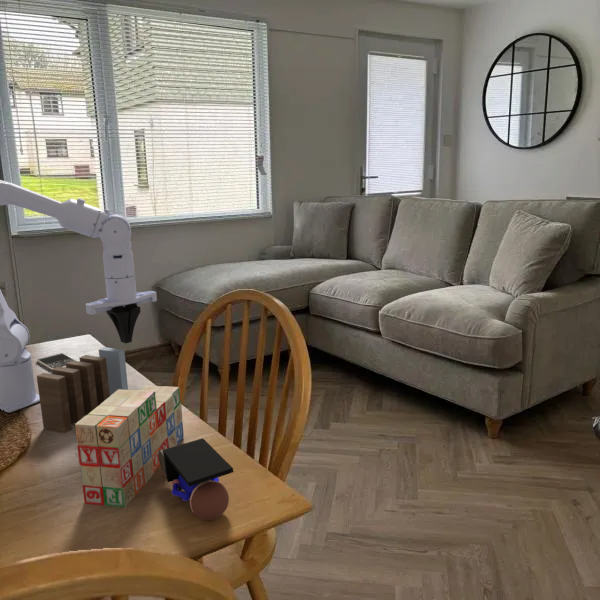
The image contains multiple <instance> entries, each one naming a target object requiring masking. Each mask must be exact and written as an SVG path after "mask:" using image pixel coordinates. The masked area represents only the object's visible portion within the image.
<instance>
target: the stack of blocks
mask: <svg viewBox="0 0 600 600" xmlns="http://www.w3.org/2000/svg"><path fill="white" fill-rule="evenodd" d="M180 395H181V392H180V387H179V386H168V385H166V386H165V385H164V386H163V385H161V386H159V385H144V386H142V388H140V390H139V389H137V390H135V389H128V390H121V389H118V390H117V391H116V392H114V393H113V394H112V395H111V396H110V397H109V398H107V399H106V400H105V401H104V402H102V403H101V404H100V405H99V406H98V407H96V408H95V409H94V410H93V411H91V412H90V413H89V414H88V415H86V416H85V417H83V418H82V419H81V420H80V421H78V422H77V423H76V424H74V425H75V426H74V427H75V428H74V429H75V436H76V442H77V445H76V446H77V455H78V463H79V469H80V475H81V483H82V492H83V493H82V494H83V500H84V504H85V505H86V504H88V505H95V506H96V505H97V506H98V505H99V506H109V507H119V508H126V507H127V505H129V503H130V502H131V501H132V499H134V498H135V496H137V494H138V493H139V492H140V491H141V490H142V489H143V487H144V486H145V485H146V484H147V482H148V481H150V479H151V478H152V476H153V475H155V472H156V470H158V469H159V467H161V466H160V462H159V457H158V452H159V451H160V450H163V449H167V448H171V447H175V446H178V445H179V443H180V442H181V440H183V438H184V426H183V425H184V423H183V411H182V410H183V409H182V404H181V396H180Z"/></svg>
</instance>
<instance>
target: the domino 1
mask: <svg viewBox="0 0 600 600" xmlns="http://www.w3.org/2000/svg"><path fill="white" fill-rule="evenodd" d="M36 382H37V389H38V390H37V391H38V394H39V398H40V402H39V403H40V412H41V418H42V419H41V420H42V427H43V429H44V430H48V431H52V432H57V433H63V434H66V433H67V432H70V431H72V424H71V419H70V411H69V403H68V395H67V387H66V379H65V376H60V375H55V374H52V373H47V372H42V373H39V374H38V375H36Z"/></svg>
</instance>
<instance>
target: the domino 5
mask: <svg viewBox="0 0 600 600" xmlns="http://www.w3.org/2000/svg"><path fill="white" fill-rule="evenodd" d="M98 357H103V358H106V363H107V373H108V382H109V391H110V396H111V395H112V394H113V393H114V392H116V391H117V390H118V389H121V390H129V385H128V376H127V367H126V364H127V363H126V355H125V349H120V348H114V347H112V348H111V347H105V346H103V347H101V348H99V349H98Z"/></svg>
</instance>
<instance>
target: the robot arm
mask: <svg viewBox="0 0 600 600" xmlns="http://www.w3.org/2000/svg"><path fill="white" fill-rule="evenodd" d="M85 202H86V200H85V199H83V198H80V197H78V198H77V200H76V199H73V198H69V199H67V200H65V201H59V200H58V199H53V198H52V197H50V196H46V195H44V194H42V193H39V192H36V191H33V190H30V189H29V188H26V187H23V186H20V185H17V184H15V183H14V182H13V183H12V182H10V181H7V180H2V179H0V206H7V205H14V206H15V207H16V206H17V207H19V208H23V209H25V210H29V211H32V212H34V213H35V212H36V213H39V214H42V215H46V216H49V217H52V218H55V219H56V220H57V221H58V223H59V225H60V226H61V228H62V229H66V230H69V231H72V232H75V233H77V234H81V235H84V236H86V237H90V238H93V239H97V238H100V240H101V242H102V249H103V253H102V261H103V273H104V281H105V291H106V297H104V298H101V299H98V300H96V301H93V302H92V301H91V302H88V303H85V312H86V313H85V314H87V315H90V316H93V315H96V314H98V313H103V312H106V314H107V316H108V317H109V318H110V320H111V322H112V323H113V324H114V328H115V329H116V331H117V334H118V336H119V340H120V342H122V343H123V344H130V343H132V342H133V335H134V330H135V326H136V322H137V320H138V318H139V316H140V314H141V312H142V311H141V307H140V306H138V305H141V304H145V303H151V302H152V303H154V302H157V301H158V298H157V297H158V296H157V292H156V291H154V290H148V291H141V292H137V285H136V271H135V262H134V252H133V251H132V247H133V246H132V245H133V244H132V242H131V237H132V228H131V223H130V221H129V220H128V219H127V218H126V217H125V216H124V215H121V214H120V213H118V212H111V210H110V208H104V209H101V208H99V207H96V206H93V205H90V204H87V203H85ZM110 212H111V213H110ZM30 337H31V335H30V331H29V329H28V327H27V326H26V325H25V324H23V322H21V321H20V320H19V319H18V317H17V314H16V313H15V312H14V311H13V310H12V309H11V308H10V307H9V305H8V303H7V301H6V298H5V296H4V295H3V293H2V290H1V288H0V409H1V410H0V411H3V410H4V411H3V412H6V413H7V414H8V413H13V412H16V411H18V410H21V409H24V408H26V407H28V406H32V405H34V404H36V403H37V404H38V403H40V398H39V393H37V391H36V390H37V389H36V384H35V378H34V377H35V376H34V369H33V368H34V367H33V363H32V362H33V361H32V353H31V352H30V351H29V350H28V349H27V348H26V346H27V345H28V344H29V342H30Z"/></svg>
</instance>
